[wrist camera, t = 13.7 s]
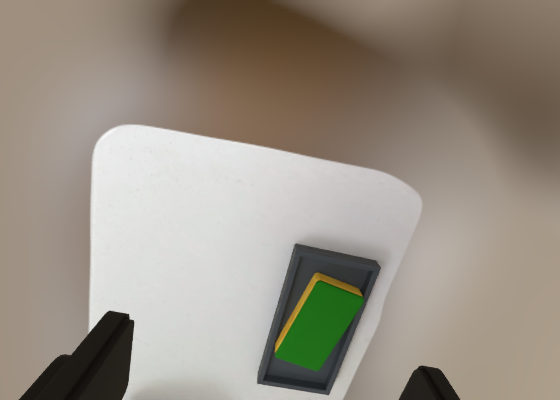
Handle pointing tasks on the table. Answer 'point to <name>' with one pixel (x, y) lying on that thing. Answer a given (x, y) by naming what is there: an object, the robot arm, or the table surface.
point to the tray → (296, 282)
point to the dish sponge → (318, 322)
